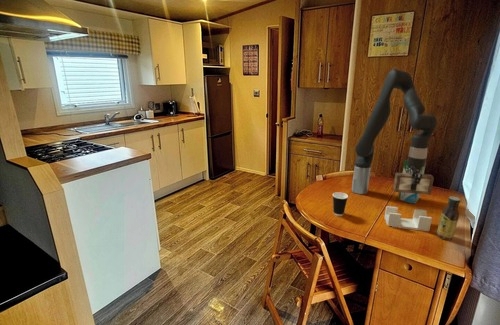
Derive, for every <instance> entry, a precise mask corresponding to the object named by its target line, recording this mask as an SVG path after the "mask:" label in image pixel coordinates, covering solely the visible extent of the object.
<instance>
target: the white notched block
mask: <svg viewBox="0 0 500 325" xmlns="http://www.w3.org/2000/svg"><path fill="white" fill-rule="evenodd" d="M398 210H399V208H398V206H393V205H392V206H390V205H389V206H388V205H386V206H385V212H384V220H386V221H385V223H386V225H388V226H392V227H391V228H397V227H398V229H405V230H414V231H415V230H416V231H420V232H422V231H423V232H430V228H431V225H432V220H433V218H432V216H427V210H426V209H419V208H415V209H414V211H413V215H412V218H402V214H401V213H398ZM388 226H387V227H388Z"/></svg>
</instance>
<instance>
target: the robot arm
mask: <svg viewBox="0 0 500 325" xmlns="http://www.w3.org/2000/svg"><path fill="white" fill-rule="evenodd" d="M394 89H397V90H400V91H401V92H402V93H403V94H404V98H403V105H404V107H405V109H406V111H407V113H408V117H409V118H408V119H409V125H410V127H411V128H412V129H413V130H416V131H419V130H420V132H419V133H416V134H413V135H412V137H411V143H410V148H409V149H408V150H409V151H408V157H407V160H408V162H407V164H408V165H410V166H408V173H409V174H411V178H412V184H411V190H413V191H415V190H416V187H417V184H419V183H420V180H421V177H422V174H420V173H421V170H420V168H421V167H424V166H425V167H426V165H425V163H426V162H427V156H428V148H429V143H430V139H431V137H432V136H433V133H434V131H435V129H436V127H437V123H438V120H437V117H436V115H434V114H430V113H429V114H424V113H425V111H426V108H425V105H424V104H423V102H422V100H421V99H420V97H419V94H418V93H417V91H416V87H415V84H414V81H413V78H412V76H411V74H410V73H409V72H407V71H404V70H401V69H396V68H393V69H391V70H390V71H389V72H388V73H387V75H386V77H385V78H384V82H383V85H382V87H381V90H380V93H379V95H378V99H377V101H376V104H375V105H374V107H373V110H372V111H371V113H370V116H369V118H368V121H367V124H366V126H365V129H364V132H362V133H363V134H362V135H361V138H360V139H359V140H358V143H357V144H356V145H355V150H354V151H355V153H356V155H357V156H356V159H355V161H354V170H353V176H352V183H351V192H352V193H354V194H357V195H366V194H368V191H369V190H368V189H369V182H370V174H371V167H372V163H373V158H374V154H375V145H374V143H375V141H376V139H377V137H378V136H379V134H380V133H381V131H382V130H383V128H384V127H385V126H386V123H387V121H388V119H389V117H390V115H391V110H392V109H391V100H390V99H391V95H392V93H393V90H394ZM426 164H427V163H426ZM413 176H415V177H413Z"/></svg>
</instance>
